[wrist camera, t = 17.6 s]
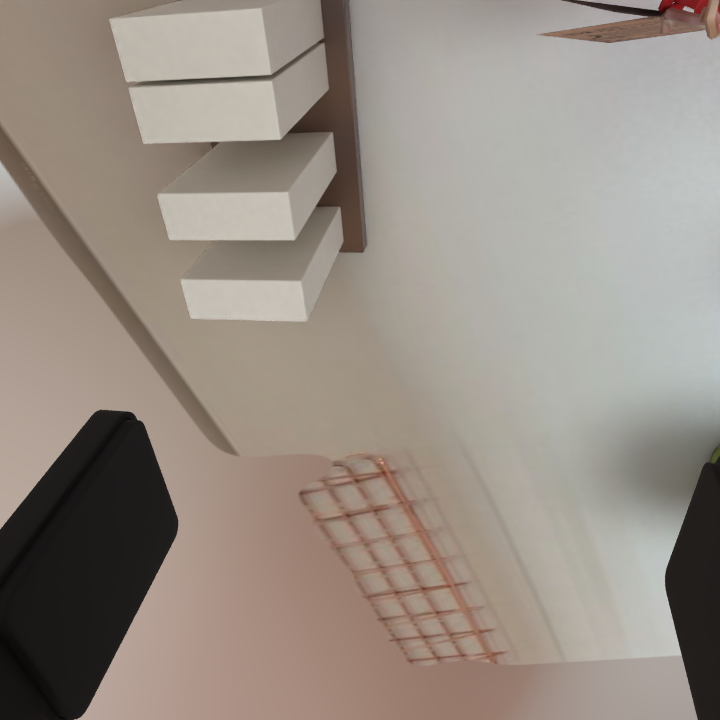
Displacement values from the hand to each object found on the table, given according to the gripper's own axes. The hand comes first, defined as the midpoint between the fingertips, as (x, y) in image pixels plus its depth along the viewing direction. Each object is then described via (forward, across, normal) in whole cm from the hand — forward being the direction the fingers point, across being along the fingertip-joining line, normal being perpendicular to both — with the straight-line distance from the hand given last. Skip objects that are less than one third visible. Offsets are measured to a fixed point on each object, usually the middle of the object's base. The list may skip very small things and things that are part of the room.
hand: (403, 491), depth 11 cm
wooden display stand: (+30, +11, +2) cm, 32 cm away
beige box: (+29, +11, +3) cm, 31 cm away
